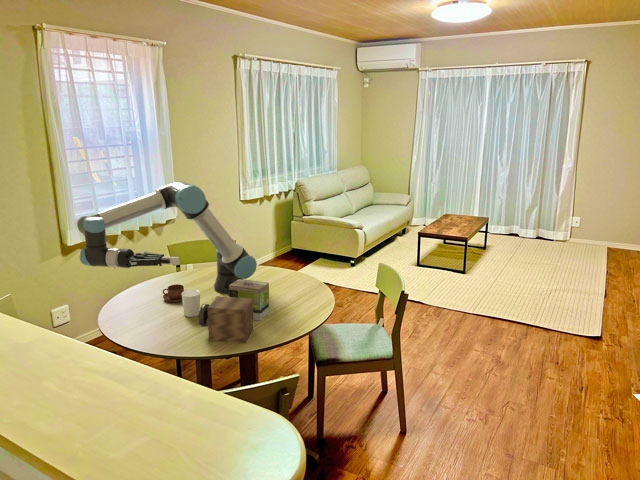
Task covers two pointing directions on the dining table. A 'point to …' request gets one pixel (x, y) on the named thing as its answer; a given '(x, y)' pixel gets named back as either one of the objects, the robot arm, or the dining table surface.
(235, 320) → the brown wooden open box
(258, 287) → the tea box
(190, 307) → the white cup
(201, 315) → the plunger
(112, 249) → the robot arm
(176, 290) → the cup and saucer
